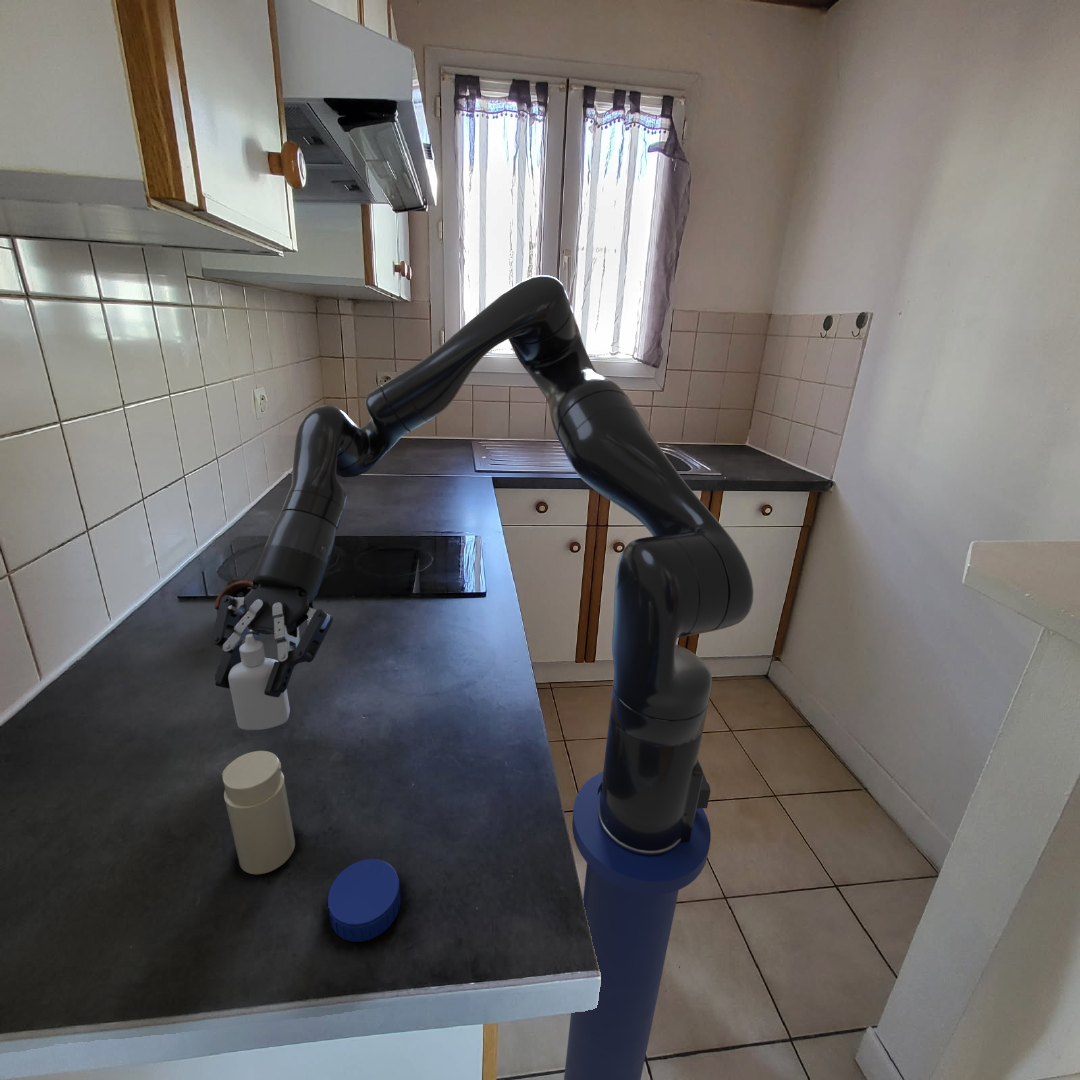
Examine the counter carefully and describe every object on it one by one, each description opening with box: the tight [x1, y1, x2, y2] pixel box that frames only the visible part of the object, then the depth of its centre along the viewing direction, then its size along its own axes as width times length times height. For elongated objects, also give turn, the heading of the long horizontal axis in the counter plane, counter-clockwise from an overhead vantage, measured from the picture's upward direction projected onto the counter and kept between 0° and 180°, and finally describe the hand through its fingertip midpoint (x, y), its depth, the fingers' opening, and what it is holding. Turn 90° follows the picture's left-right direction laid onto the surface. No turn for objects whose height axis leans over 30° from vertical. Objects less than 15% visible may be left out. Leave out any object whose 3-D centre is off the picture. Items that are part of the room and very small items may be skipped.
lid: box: [327, 858, 402, 943], centre depth 49 cm, size 6×6×2 cm
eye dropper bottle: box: [228, 634, 291, 731], centre depth 65 cm, size 4×6×12 cm
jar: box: [221, 750, 296, 875], centre depth 53 cm, size 5×5×10 cm
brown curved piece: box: [214, 577, 253, 623], centre depth 93 cm, size 12×10×8 cm
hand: (247, 691), depth 63 cm, fingers closed on eye dropper bottle, 5 cm apart
